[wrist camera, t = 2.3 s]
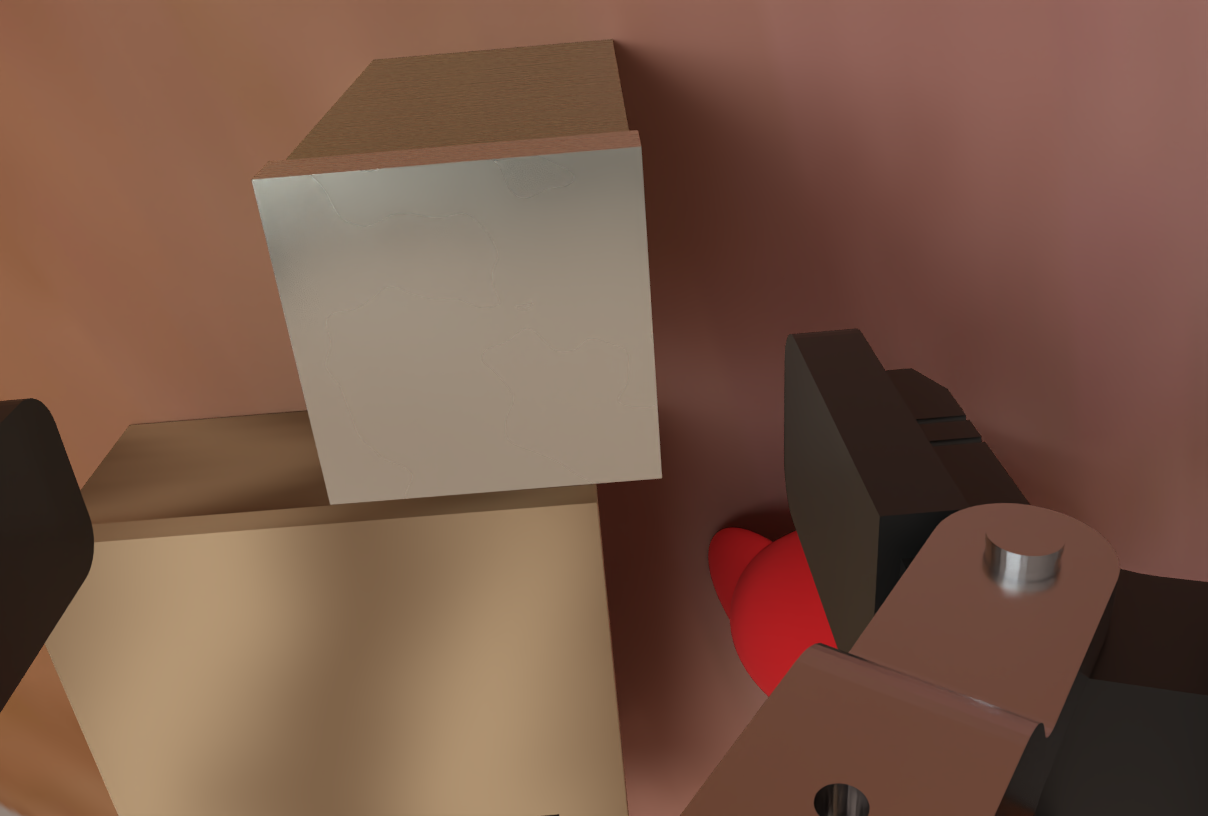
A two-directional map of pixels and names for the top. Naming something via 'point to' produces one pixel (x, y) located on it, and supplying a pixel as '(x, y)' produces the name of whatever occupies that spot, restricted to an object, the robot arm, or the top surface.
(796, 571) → the cap
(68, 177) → the top surface
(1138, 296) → the top surface
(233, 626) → the beige flat block
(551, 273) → the tea tin
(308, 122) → the top surface
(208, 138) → the top surface
